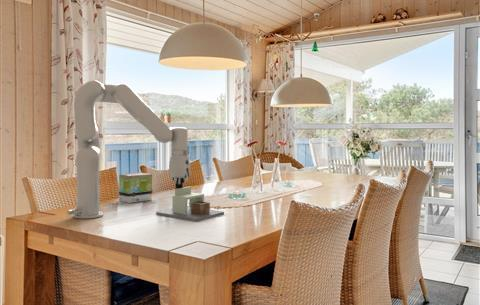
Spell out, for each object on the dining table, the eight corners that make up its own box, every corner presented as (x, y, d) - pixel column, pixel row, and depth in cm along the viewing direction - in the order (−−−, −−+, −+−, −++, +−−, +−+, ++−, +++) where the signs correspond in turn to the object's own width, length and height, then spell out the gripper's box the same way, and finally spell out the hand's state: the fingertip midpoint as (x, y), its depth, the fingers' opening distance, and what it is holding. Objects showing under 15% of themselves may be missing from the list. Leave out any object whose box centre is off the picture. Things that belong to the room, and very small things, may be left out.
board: (196, 221, 176) (196, 209, 176) (156, 214, 190) (156, 203, 189) (224, 214, 193) (224, 203, 192) (185, 208, 206) (185, 197, 206)
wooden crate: (201, 215, 184) (201, 204, 183) (191, 213, 187) (191, 202, 187) (209, 213, 189) (209, 202, 188) (199, 211, 192) (199, 201, 192)
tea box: (130, 203, 216) (130, 175, 215) (118, 201, 222) (118, 174, 221) (152, 200, 228) (152, 173, 227) (140, 198, 234) (140, 172, 233)
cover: (185, 214, 184) (185, 190, 184) (172, 211, 189) (172, 189, 188) (204, 209, 195) (204, 187, 194) (191, 207, 200) (191, 186, 199)
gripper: (196, 153, 193) (196, 192, 194) (172, 152, 201) (172, 189, 202) (186, 154, 186) (185, 194, 187) (162, 153, 195) (161, 191, 196)
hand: (179, 192), depth 195 cm, fingers closed
